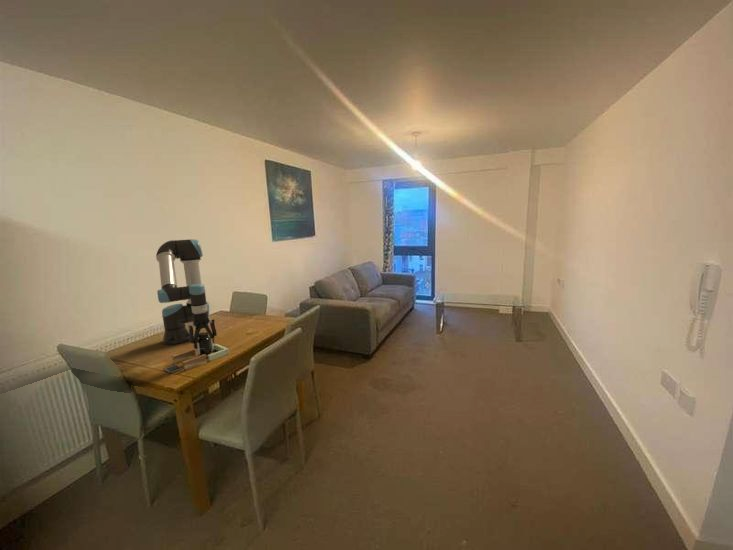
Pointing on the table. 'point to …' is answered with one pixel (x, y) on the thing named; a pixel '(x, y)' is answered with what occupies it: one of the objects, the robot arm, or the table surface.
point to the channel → (192, 362)
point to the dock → (220, 353)
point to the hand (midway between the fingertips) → (205, 351)
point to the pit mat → (173, 369)
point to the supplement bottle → (204, 344)
